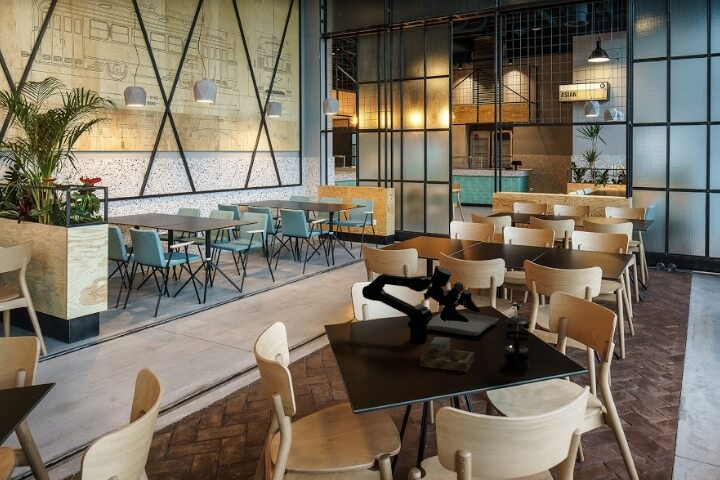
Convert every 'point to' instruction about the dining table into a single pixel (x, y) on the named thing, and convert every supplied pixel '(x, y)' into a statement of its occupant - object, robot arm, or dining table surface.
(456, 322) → the square plate
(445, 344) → the grey faceted block
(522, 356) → the french press
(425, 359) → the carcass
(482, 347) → the dining table surface
